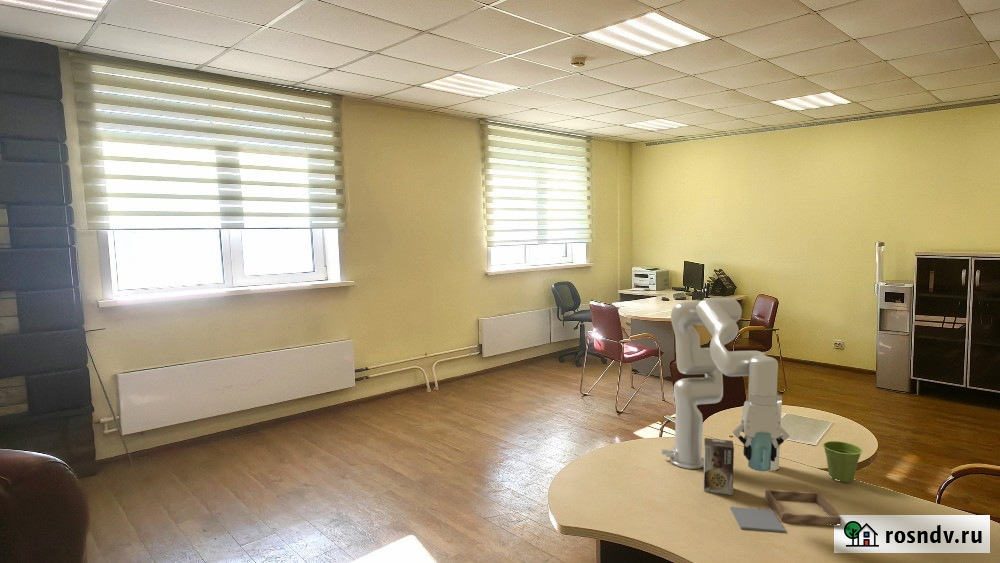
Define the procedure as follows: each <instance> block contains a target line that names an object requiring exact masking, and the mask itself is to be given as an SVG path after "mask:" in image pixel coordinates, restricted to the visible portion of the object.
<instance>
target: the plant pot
mask: <svg viewBox="0 0 1000 563" xmlns="http://www.w3.org/2000/svg"><path fill="white" fill-rule="evenodd" d="M822 447H823V448H824V453H825V456H826V464H827V471H828V476H829V475H830V476H831V477H832V478H834V479H837V480H840V481H841V482H843V481H844V483H846V482H849V483H853V482H854V479H855V475H856V470H857V468H858V464H859V463H858V462H859V460H860V458H861V454H862V453H863V452H864V449H862V448H861V447H860V446H858V445H856V444H853V443H849V442H846V441H840V440H827V441H825V442H823V443H822ZM830 476H829V477H830ZM832 478H831V479H832Z"/></svg>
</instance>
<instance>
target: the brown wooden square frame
mask: <svg viewBox="0 0 1000 563" xmlns="http://www.w3.org/2000/svg"><path fill="white" fill-rule="evenodd" d="M764 498H766V500H767V501H768V503H769V505H770V507H771V508H772V510H773V512H774V513H775V515H777V518H778V519H779V521H781V523H789V524H790V523H792V524H803V525H804V524H805V525H817V526H819V525H820V526H830V524H831V525H837V524H842V518H841V517H840V515H839V514H838V513H837V512H836V510H834V509H833V507H832V506H831V505H830V504H829V503H828V501H827V500H826V499H825V498H824V497H823V495H822V494H820V492H816V491H815V492H813V491H799V490H786V489H785V490H783V489H773V488H772V489H769V488H768V489H767V488H765V489H764ZM788 499H789V501H792V500H793V499H795V500H793V501H803V500H807V501H806V502H816V501H817V502H816V503H817V504H818V506H819V507H820V506H821V507H822V508H823V509H822V508H821V507H820V508H821V509H822V510H823V512H824V513H825V512H826V513H827V514H828V515H829V516H828V515H827V514H826V513H825V514H811V513H798V512H797V513H796V512H786V511H784V509H783V508H782V507H781V505H780V504H779V502H778V501H777V500H788ZM791 499H792V500H791ZM809 500H810V501H809ZM827 524H828V525H827Z"/></svg>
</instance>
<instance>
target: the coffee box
mask: <svg viewBox="0 0 1000 563" xmlns="http://www.w3.org/2000/svg"><path fill="white" fill-rule="evenodd" d="M703 442H704V444H703V446H704V447H703V450H704V451H703V458H704V467H703V483H702V485H703V492H705V493H706V492H707V493H714V494H723V495H730V496H731V495H732V496H733V495H734V466H735V465H734V464H735V463H734V461H735V460H734V456H735V453H734V452H735V446H734V441H733V440H727V439H719V438H710V437H709V438H707V437H706V438H704V441H703Z"/></svg>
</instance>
